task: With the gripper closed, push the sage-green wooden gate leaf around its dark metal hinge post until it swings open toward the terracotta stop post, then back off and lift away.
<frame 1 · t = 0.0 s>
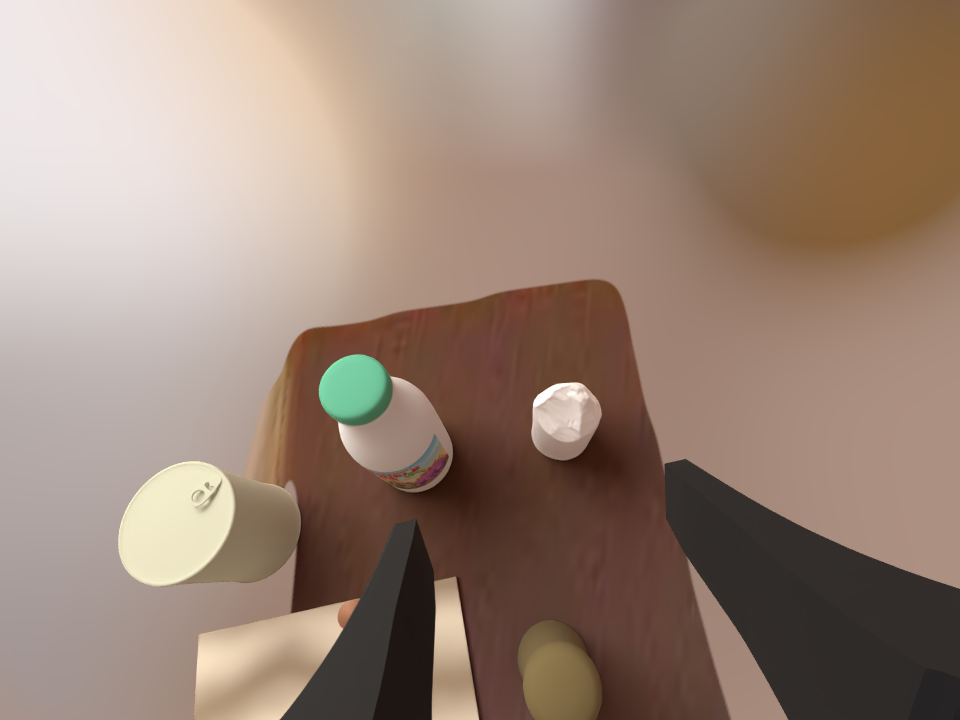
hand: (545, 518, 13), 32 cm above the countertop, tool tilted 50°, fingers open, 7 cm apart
white chalk piece: (560, 433, 47), on the countertop
cork: (552, 660, 38), on the countertop
can: (257, 531, 45), on the countertop
milk bottle: (417, 455, 47), on the countertop
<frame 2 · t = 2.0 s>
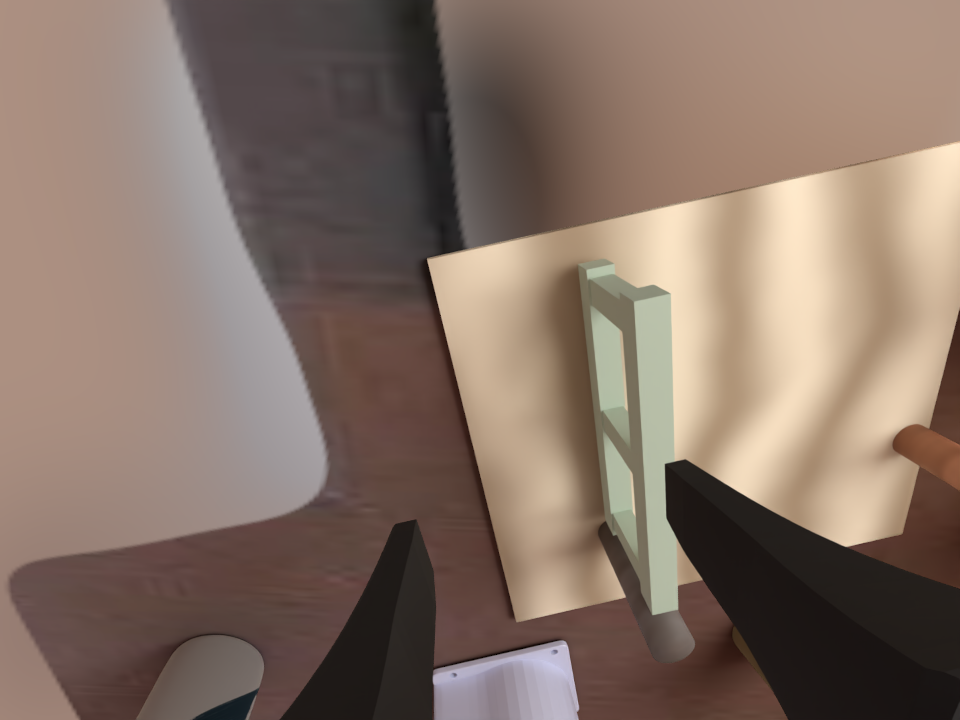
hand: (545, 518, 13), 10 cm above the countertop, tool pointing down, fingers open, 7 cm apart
cork: (770, 622, 33), on the countertop
lotion bottle: (220, 659, 29), on the countertop
gate leaf: (628, 439, 20), point 4 cm above the countertop, hinge at 0.0°
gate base: (709, 421, 25), on the countertop
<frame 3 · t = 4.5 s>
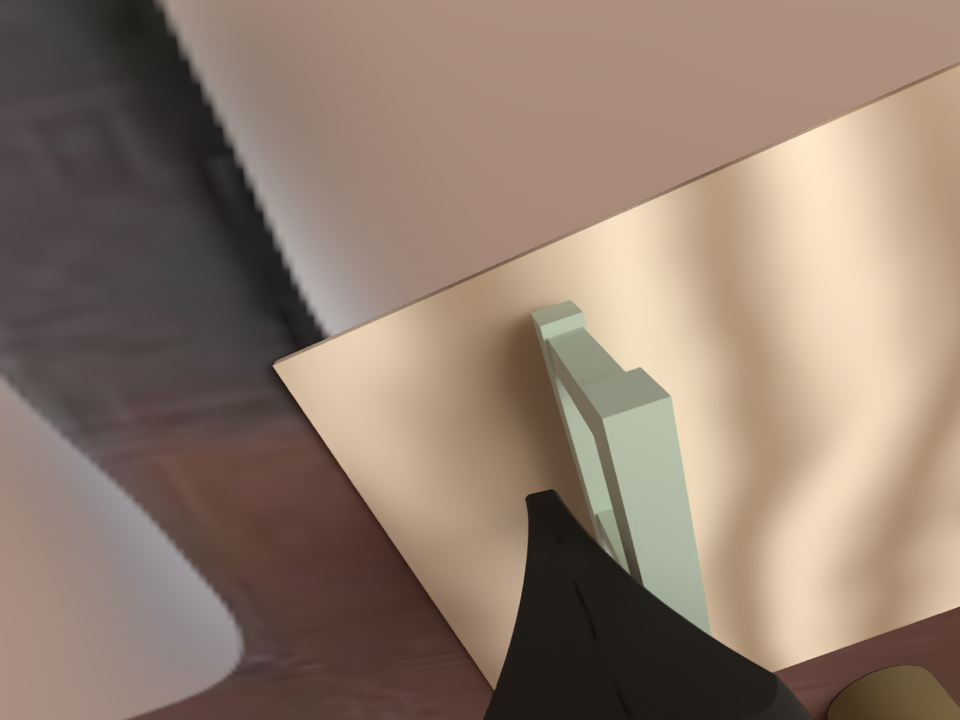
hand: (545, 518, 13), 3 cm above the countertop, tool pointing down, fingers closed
cork: (876, 696, 25), on the countertop
gate leaf: (637, 566, 13), point 4 cm above the countertop, hinge at 4.5°, touching gripper
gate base: (741, 486, 18), on the countertop
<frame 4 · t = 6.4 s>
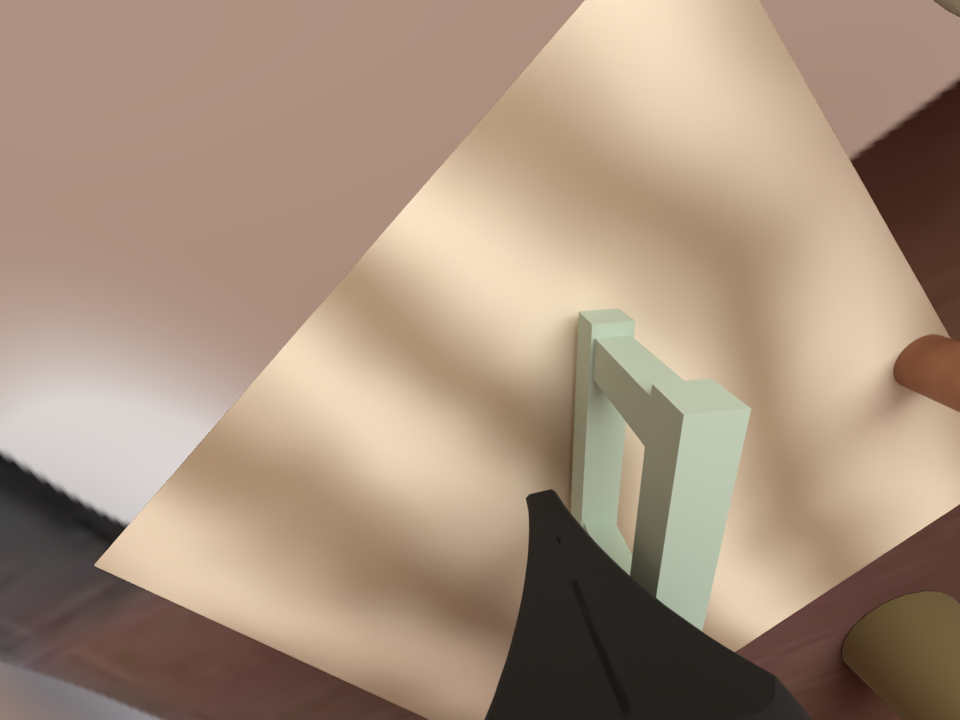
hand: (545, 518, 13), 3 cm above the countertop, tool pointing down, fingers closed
cork: (896, 630, 23), on the countertop
gate leaf: (618, 580, 13), point 4 cm above the countertop, hinge at 42.9°, touching gripper
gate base: (587, 503, 17), on the countertop
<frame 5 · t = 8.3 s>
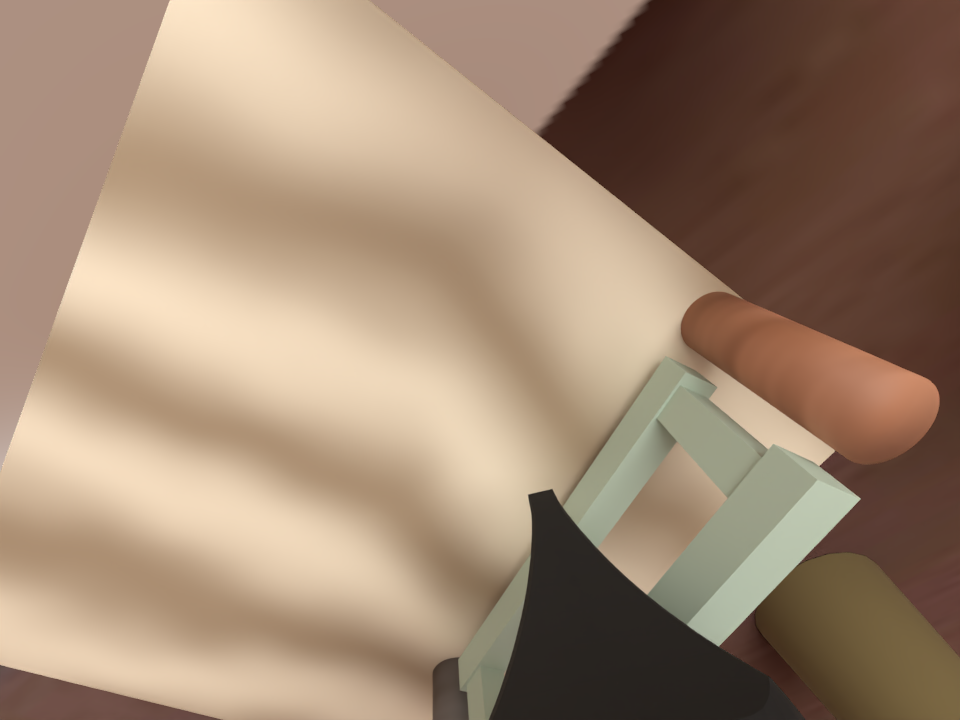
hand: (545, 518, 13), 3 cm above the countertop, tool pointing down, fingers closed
cork: (814, 597, 21), on the countertop
gate leaf: (586, 608, 14), point 4 cm above the countertop, hinge at 82.5°, touching gripper
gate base: (406, 521, 17), on the countertop
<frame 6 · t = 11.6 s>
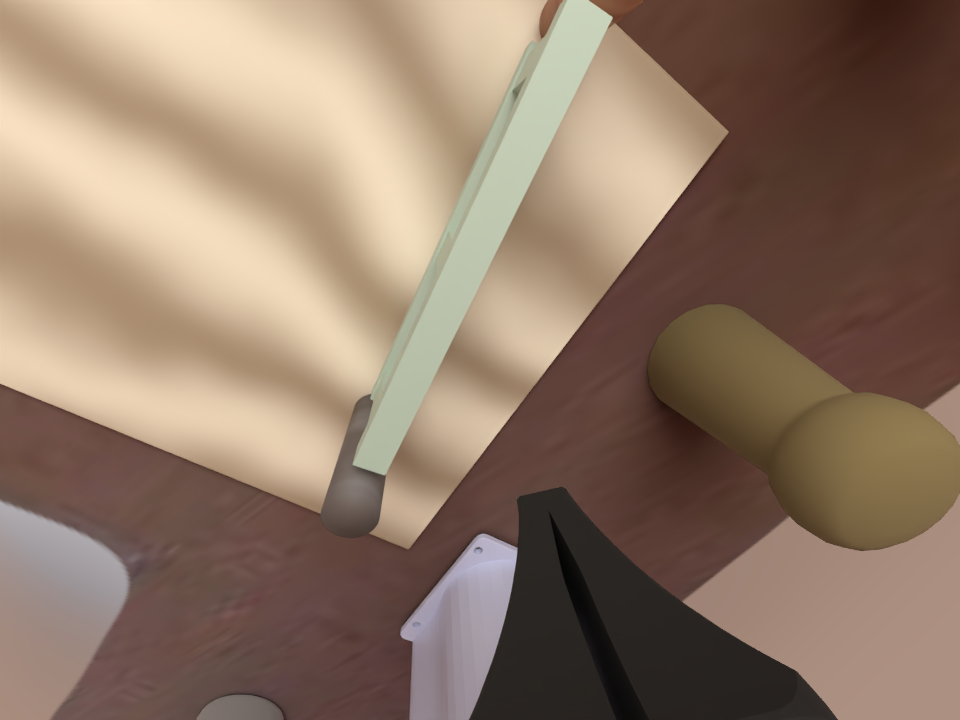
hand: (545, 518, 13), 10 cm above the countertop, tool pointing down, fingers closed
cork: (701, 358, 23), on the countertop
lotion bottle: (244, 714, 31), on the countertop
gate leaf: (456, 259, 16), point 4 cm above the countertop, hinge at 82.6°
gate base: (318, 237, 19), on the countertop
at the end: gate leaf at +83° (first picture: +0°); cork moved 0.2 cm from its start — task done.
